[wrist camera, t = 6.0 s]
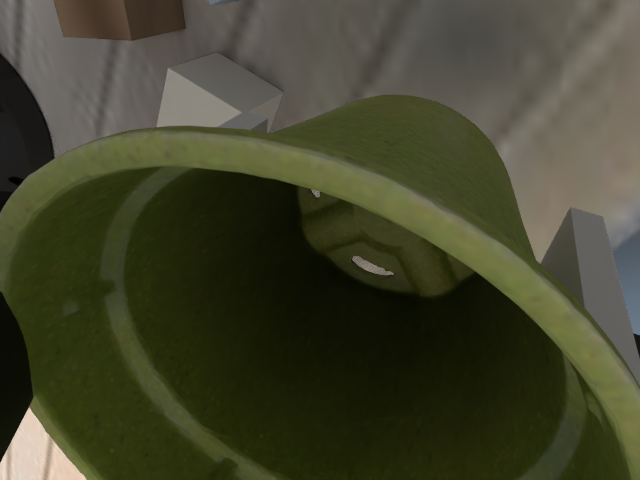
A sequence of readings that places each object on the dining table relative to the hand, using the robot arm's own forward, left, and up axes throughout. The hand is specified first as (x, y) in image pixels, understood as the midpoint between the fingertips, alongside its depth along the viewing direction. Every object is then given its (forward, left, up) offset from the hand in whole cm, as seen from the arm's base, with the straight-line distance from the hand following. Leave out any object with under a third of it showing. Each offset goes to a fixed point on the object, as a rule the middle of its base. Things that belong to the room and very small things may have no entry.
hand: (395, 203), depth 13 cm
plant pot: (0, 0, -1) cm, 1 cm away
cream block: (-14, -5, -15) cm, 21 cm away
